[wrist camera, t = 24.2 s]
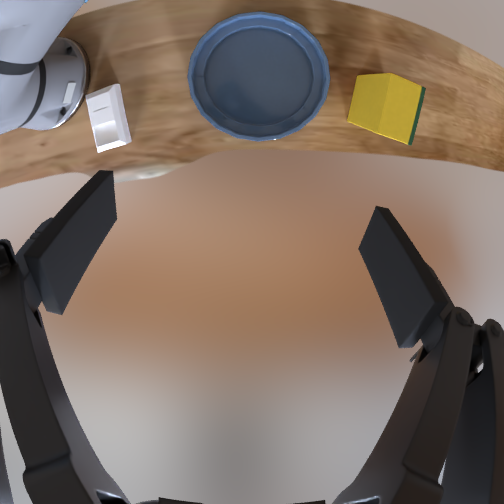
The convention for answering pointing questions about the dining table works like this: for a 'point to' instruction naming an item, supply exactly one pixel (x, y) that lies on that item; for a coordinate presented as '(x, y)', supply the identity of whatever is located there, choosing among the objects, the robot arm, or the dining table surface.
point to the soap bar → (108, 117)
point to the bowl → (258, 76)
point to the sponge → (387, 105)
